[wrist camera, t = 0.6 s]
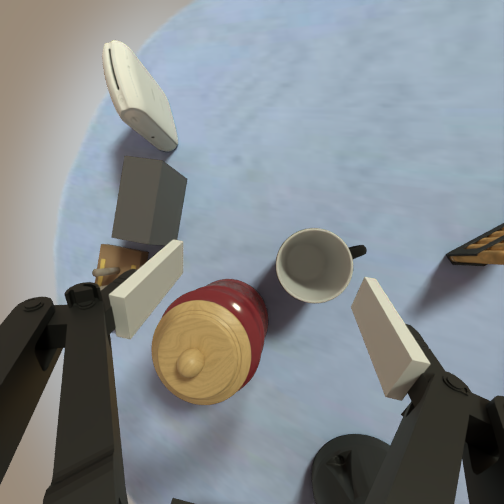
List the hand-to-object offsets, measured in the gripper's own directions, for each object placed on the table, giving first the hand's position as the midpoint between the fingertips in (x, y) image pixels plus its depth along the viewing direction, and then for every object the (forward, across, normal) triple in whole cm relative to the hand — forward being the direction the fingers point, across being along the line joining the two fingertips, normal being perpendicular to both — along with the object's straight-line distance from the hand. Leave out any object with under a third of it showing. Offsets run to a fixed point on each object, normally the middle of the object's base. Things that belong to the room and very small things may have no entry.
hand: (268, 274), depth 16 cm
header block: (+17, +25, +19) cm, 36 cm away
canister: (+15, +4, +19) cm, 24 cm away
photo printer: (+30, +23, -8) cm, 38 cm away
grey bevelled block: (+23, +19, +5) cm, 30 cm away
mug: (+19, -8, +8) cm, 22 cm away
